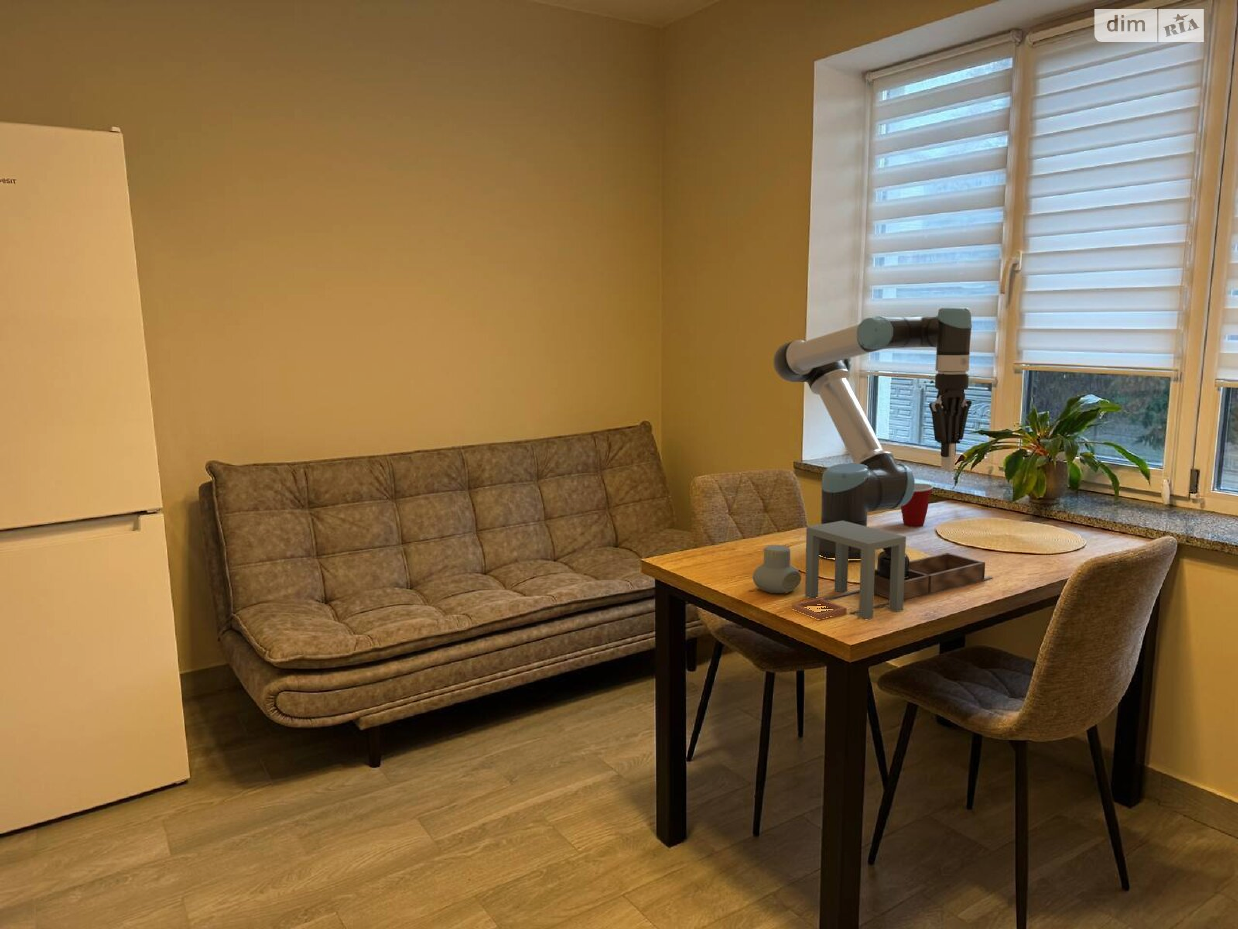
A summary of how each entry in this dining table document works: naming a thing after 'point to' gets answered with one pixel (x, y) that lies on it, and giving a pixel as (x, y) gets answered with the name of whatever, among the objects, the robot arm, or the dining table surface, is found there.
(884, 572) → the supplement bottle
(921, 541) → the dining table surface
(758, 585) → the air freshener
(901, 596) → the tunnel
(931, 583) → the divided wooden tray
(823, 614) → the frame
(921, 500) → the plastic cup
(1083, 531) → the dining table surface
